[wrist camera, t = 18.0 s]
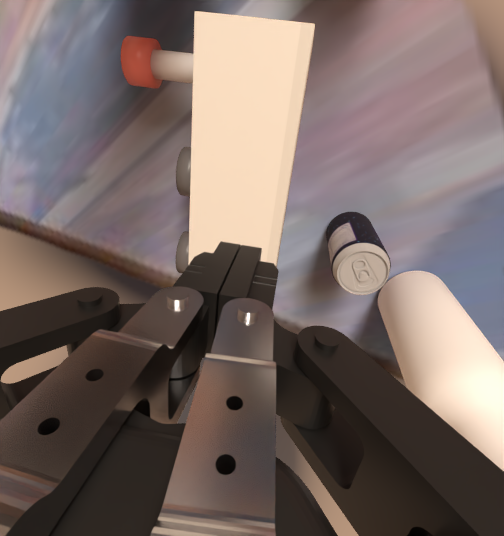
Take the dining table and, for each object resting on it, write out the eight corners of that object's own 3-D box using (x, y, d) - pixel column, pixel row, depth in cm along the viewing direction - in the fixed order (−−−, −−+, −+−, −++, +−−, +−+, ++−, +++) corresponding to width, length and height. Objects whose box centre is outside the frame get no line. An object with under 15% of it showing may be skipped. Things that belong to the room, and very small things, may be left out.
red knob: (141, 86, 34) (122, 84, 30) (139, 39, 32) (119, 31, 29) (231, 97, 33) (222, 97, 30) (234, 50, 31) (225, 43, 28)
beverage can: (334, 256, 45) (343, 305, 34) (319, 219, 43) (324, 258, 32) (376, 242, 43) (400, 288, 32) (364, 202, 41) (384, 238, 30)
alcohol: (389, 330, 48) (489, 607, 22) (366, 282, 46) (451, 534, 19) (453, 309, 45) (659, 600, 19) (433, 257, 43) (644, 513, 16)
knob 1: (190, 189, 39) (176, 200, 34) (192, 144, 36) (176, 149, 32) (267, 200, 38) (261, 213, 33) (273, 155, 36) (268, 162, 31)
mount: (214, 257, 47) (187, 301, 37) (228, 38, 35) (194, 11, 25) (276, 267, 46) (267, 316, 36) (312, 47, 35) (315, 23, 24)
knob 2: (189, 261, 43) (175, 280, 39) (189, 225, 41) (175, 240, 36) (257, 273, 42) (251, 293, 38) (262, 236, 40) (256, 253, 36)
